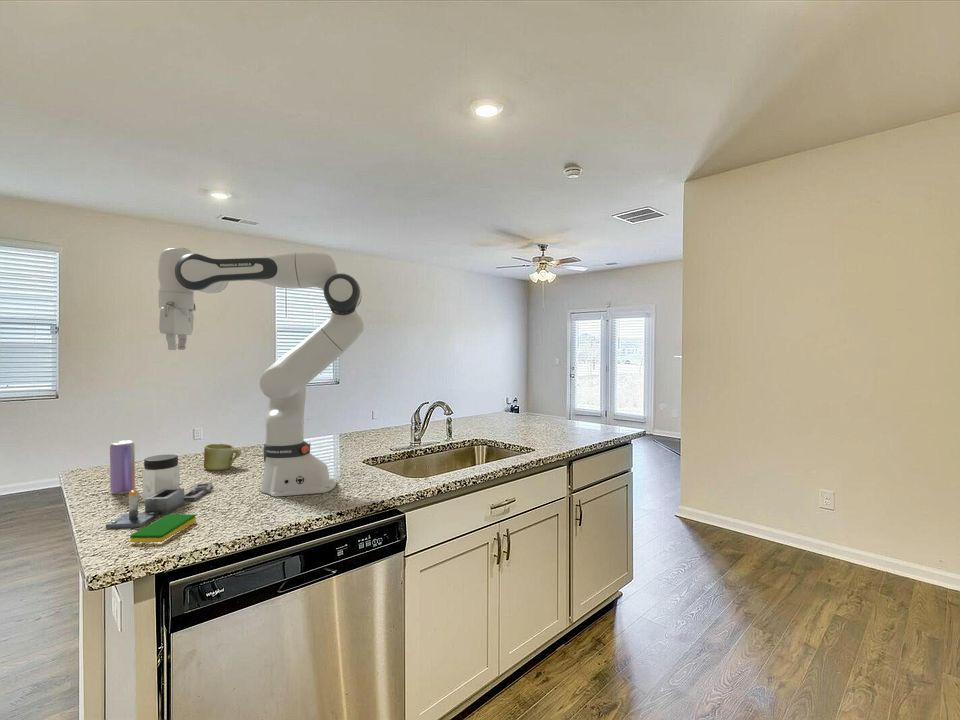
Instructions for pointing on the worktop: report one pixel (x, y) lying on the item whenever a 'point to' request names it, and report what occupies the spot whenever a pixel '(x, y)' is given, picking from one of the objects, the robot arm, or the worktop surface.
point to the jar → (160, 474)
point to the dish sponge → (163, 528)
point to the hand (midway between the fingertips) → (177, 349)
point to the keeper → (132, 515)
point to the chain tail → (198, 491)
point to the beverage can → (122, 467)
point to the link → (165, 501)
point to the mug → (219, 456)
